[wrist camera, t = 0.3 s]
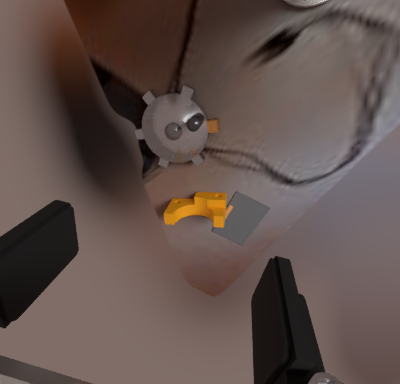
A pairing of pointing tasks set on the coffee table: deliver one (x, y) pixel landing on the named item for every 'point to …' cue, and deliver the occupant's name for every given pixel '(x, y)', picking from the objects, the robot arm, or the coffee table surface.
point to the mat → (241, 218)
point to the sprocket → (176, 126)
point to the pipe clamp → (198, 208)
